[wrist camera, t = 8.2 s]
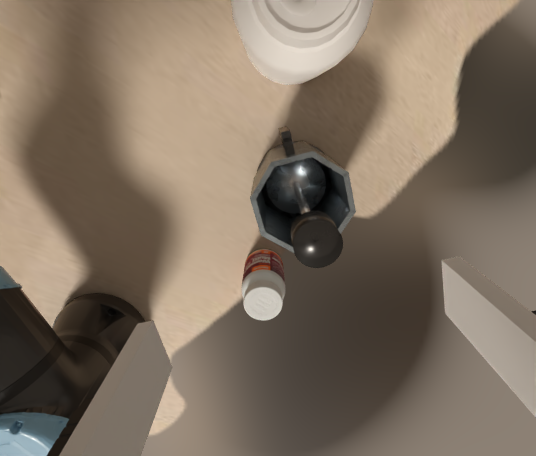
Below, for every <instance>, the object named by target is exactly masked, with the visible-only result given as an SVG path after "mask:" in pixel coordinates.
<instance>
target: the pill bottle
mask: <svg viewBox="0 0 536 456" xmlns="http://www.w3.org/2000/svg"><path fill="white" fill-rule="evenodd" d="M242 295H243V298H244V308H245V310H246V312H247V313H248V314H249V315H250V316H251V317H252V318H255V319H257V320H269V319H272V318H274V317H275V316H277V315H278V314H279V312H280V311H281V309H282V304H283V301H282V300H283V298H284V295H285V280H284V268H283V263H282V260H281V258H280V256H279V255H278V254H277V253H275V252H274V251H272V250H269V249H259V250H256V251H254V252H253V253H251V254H250V255H249V256H248V258H247V260H246V262H245V268H244V274H243V281H242Z"/></svg>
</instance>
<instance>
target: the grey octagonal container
mask: <svg viewBox="0 0 536 456" xmlns="http://www.w3.org/2000/svg"><path fill="white" fill-rule="evenodd" d="M279 132H280V136H281V140H282V144H281V145H279V146H277V147H275V148H274V149H270V151H269V152H268V153H267V154H266V156H265V157H264V158H263V160H262V161H261V163H260V165H259V167H258V170H257V173H256V175H255V177H254V181H253V186H252V191H251V196H250V199H251V203H252V206H253V210H254V213H255V217H256V220H257V223H258V227H259V230H260V234H261V236H263V237H265V238H267V239H269V240H270V241H272V242H274V243H276V244H278V245H280V246H282V247H283V248H285V249H287V250H289V251H291V252H293V253H294V250H293V245H292V239H291V227H292V224H293V223H294V221H295V220H296V218H297V217H299V216H300V215H301V213H297V214H294V213H287V212H284V211H282V210H280V209H279V208H277V207H276V206H275V205H274V204H273V203H272V201H271V200H270V198H269V196H268V193H267V179H268V177H269V176H270V174H271V172H272V170H273V169H274V167H276V166H280V165H284V164H287V163H291V162H295V161H299V160H302V159H306V158H312V159H313V160H314V161H316V162H317V163H318V164H319V166H320V167H321V168H322V170H323V172H324V175H325V179H326V188H325V193H324V195H323V197H322V199H321V200H320V202H319V203H318V204H317V205H316V206H315V207H314V208H312V209H311V210H310V211H320V212H323V213H325V214H327V215H328V216H329V217H330V218H331V219H332V220H333V222H334V223H335V225H336V227H337V229H338V230H339V232H340V234H341V232H342V231H343V229H344V228H345V227H346V225H347V224H348V222H349V221H350V219H351V218H352V217H353V215H354V214H355V212H356V210H355V205H354V199H353V194H352V189H351V183H350V178H349V173H348V172H347V171H346V170H345V169H344V168H342V167H341V166H340V165H339V164H337V163H336V162H335V161H334V160H333V159H331V158H330V157H329V156H327V155H325V154H324V153H323V152H322V151H321V150H320V149H318V148H317V147H315V146H313V145H311V144H308V143H305V142H304V141H299V142H292V138H291V134H290V130H289V129H288V128H287V127H286V126H285V127H281V128H279Z"/></svg>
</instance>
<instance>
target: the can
mask: <svg viewBox="0 0 536 456" xmlns="http://www.w3.org/2000/svg"><path fill="white" fill-rule="evenodd" d="M231 5H232V15H233V20H234V22H235V25H236V27H237V30H238V32H239V35H240V37H241V40H242V42H243V45H244V47H245V50H246V52H247V55H248V57H249V60H250V61H251V63H252V64H253V65H254V66H255V68H256V69H257V70H258V71H259V73H260V74H262V75H264V76H265V77H267V78H268V79H270V80H271V81H273V82H277V83H281V84H285V85H294V84H302V83H304V82H307V81H309V80H311V79H313V78H316V77H317V76H319V75H321V74H322V73H324V72H326V71H327V70H329V69H331V68H332V67H334V66H336V65H337V64H338V63H339V62H340V61H341V60H342V59H344V58H345V57H346V56H347V55H348V54H349V53H350V52H351V51H352V50H353V49H354V48H355V46H356V44H357V43H358V41H359V39H360V38H361V36H362V35H363V33H364V31H365V30H366V27H367V24H368V20H369V17H370V14H371V10H372V7H373V0H231Z"/></svg>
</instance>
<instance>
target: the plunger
mask: <svg viewBox="0 0 536 456" xmlns="http://www.w3.org/2000/svg"><path fill="white" fill-rule="evenodd" d="M325 188H326V179H325V175H324V172H323V170H322V168H321V167H320V166H319V164H318V163H317V162H316V161H314V160H313V159H312V158H306V159H302V160H299V161H295V162H291V163H287V164H284V165H280V166H276V167H274V169H273V170H272V172H271V174H270V176H269V177H268V179H267V193H268V196H269V198H270V200H271V201H272V203H273V204H274V205H275V206H276V207H277V208H279V209H280V210H282V211H284V212H287V213H294V214H297V213H301V215H300V216H299V217H297V218H296V220H295V221H294V223H293V224H292V227H291V239H292V245H293V250H294V254H295V256H296V257H297V259H298V260H299V261H300V262H301V263H302V264H304V265H306V266H308V267H313V268H320V267H325V266H327V265H330V264H332V263H333V262H334V261H335V260H336V259H337V258H338V257H339V255H340V254H341V251H342V248H343V240H342V236H341V234H340V232H339V230H338V229H337V227H336V225H335V223H334V222H333V220H332V219H331V218H330V217H329V216H328V215H327V214H325V213H323V212H320V211H310V210H311V209H312V208H314V207H315V206H316V205H317V204H318V203H319V202H320V200H321V199H322V197H323V195H324V193H325Z"/></svg>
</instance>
